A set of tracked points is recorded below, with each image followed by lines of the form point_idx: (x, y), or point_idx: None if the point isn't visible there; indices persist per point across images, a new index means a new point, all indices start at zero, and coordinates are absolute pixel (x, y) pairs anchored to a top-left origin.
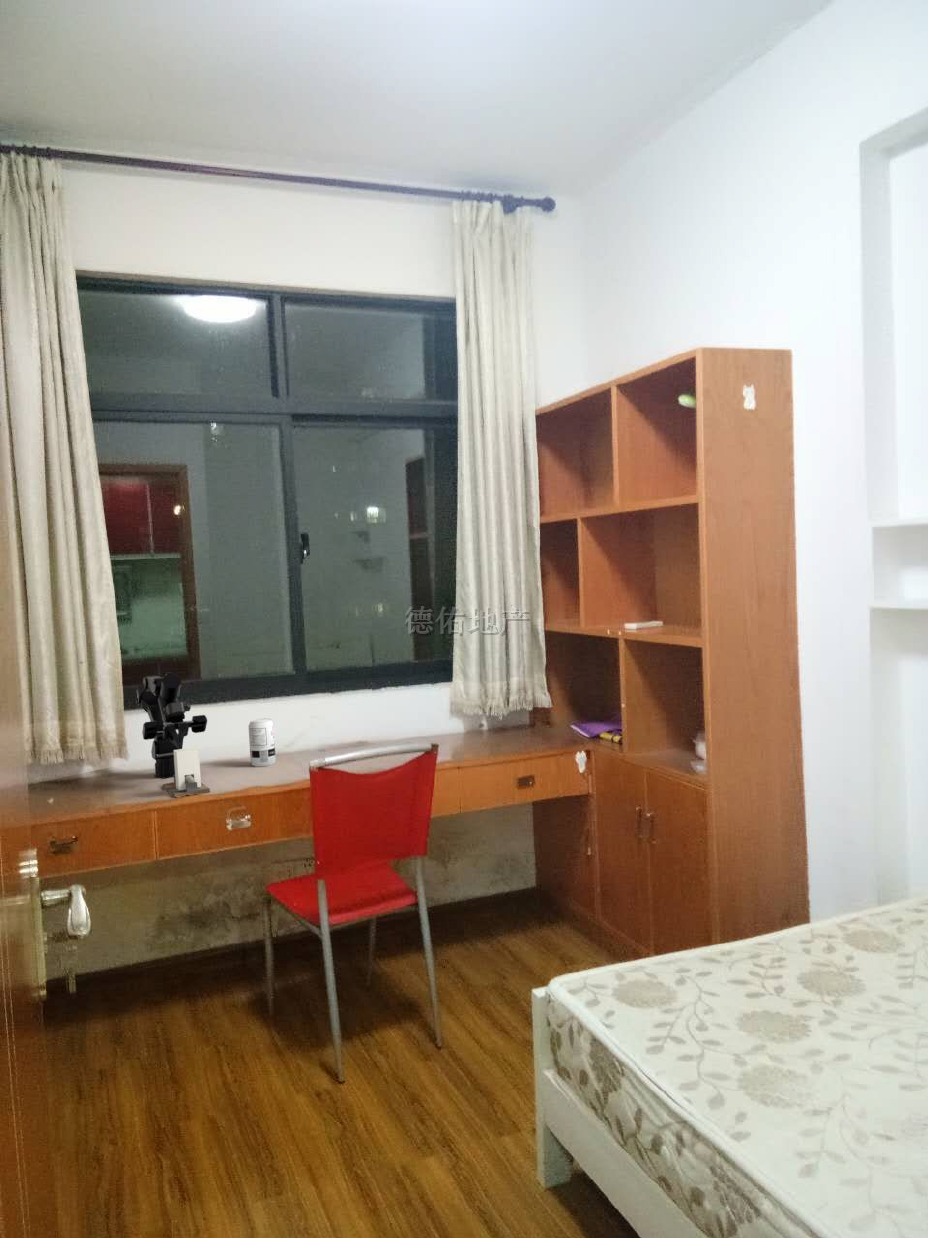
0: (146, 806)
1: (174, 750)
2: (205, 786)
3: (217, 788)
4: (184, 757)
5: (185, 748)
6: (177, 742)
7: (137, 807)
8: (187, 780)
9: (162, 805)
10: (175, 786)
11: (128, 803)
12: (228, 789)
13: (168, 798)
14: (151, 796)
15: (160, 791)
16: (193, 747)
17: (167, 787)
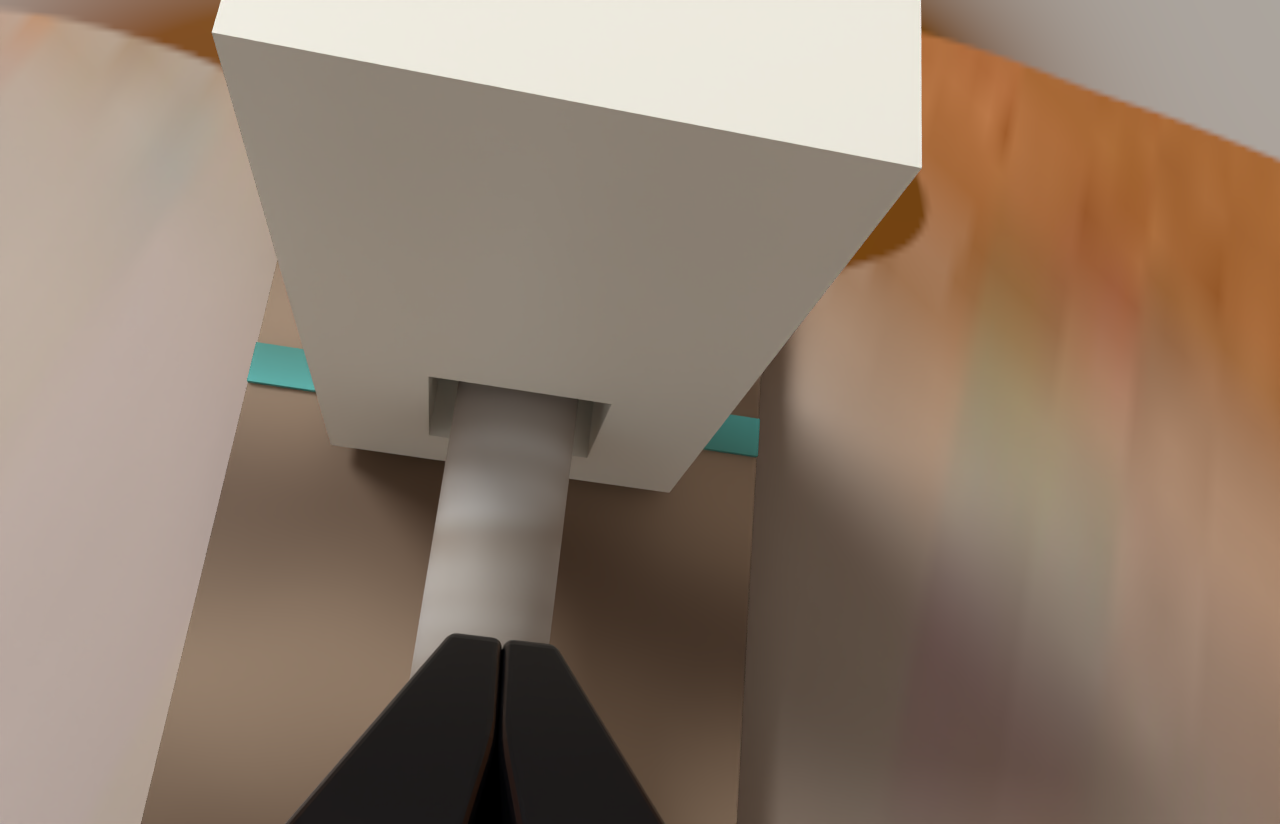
0: (1094, 169)
1: (909, 91)
2: (277, 311)
3: (120, 279)
4: None
5: (554, 84)
6: (619, 773)
7: (1179, 208)
8: None
9: (949, 72)
10: (610, 708)
11: (1253, 467)
12: (54, 105)
13: (822, 305)
14: (973, 597)
15: (807, 816)
16: (298, 6)
17: (727, 750)
